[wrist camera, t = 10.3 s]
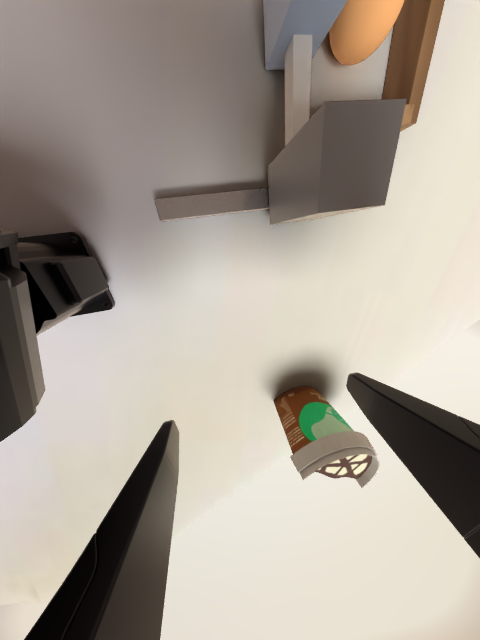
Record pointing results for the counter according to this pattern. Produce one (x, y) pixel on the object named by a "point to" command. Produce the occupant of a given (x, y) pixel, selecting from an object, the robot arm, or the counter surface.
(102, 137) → the counter surface
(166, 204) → the rail
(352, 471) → the food container
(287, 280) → the counter surface
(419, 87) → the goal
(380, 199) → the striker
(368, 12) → the ball
